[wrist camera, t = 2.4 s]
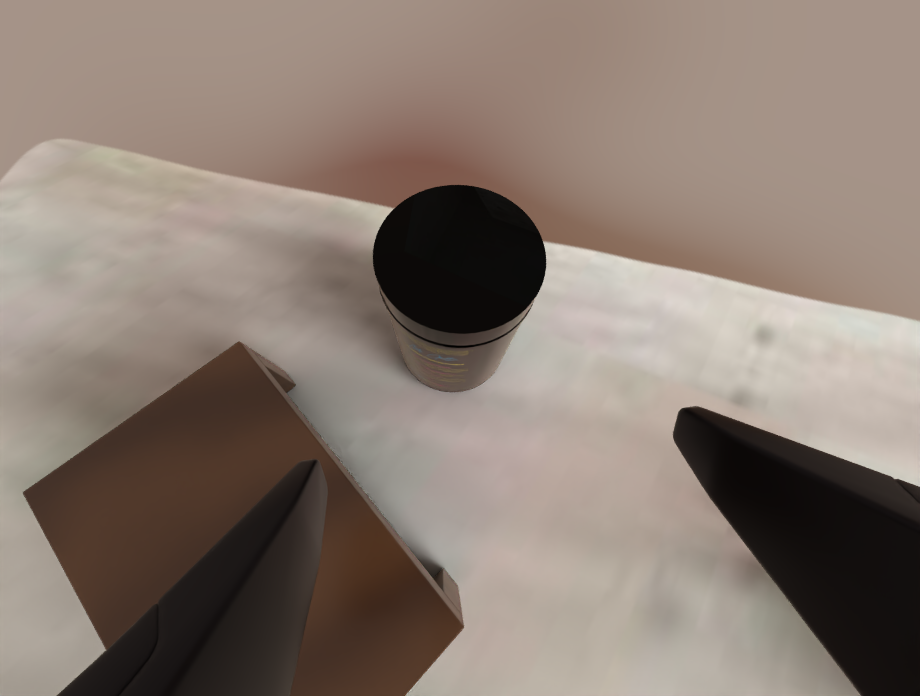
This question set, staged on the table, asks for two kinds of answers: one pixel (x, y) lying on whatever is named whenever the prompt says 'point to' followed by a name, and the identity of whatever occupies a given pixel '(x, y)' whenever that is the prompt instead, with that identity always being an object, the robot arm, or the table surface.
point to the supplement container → (457, 281)
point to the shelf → (222, 505)
